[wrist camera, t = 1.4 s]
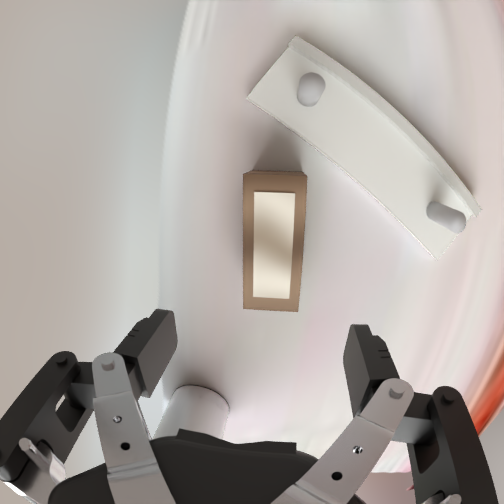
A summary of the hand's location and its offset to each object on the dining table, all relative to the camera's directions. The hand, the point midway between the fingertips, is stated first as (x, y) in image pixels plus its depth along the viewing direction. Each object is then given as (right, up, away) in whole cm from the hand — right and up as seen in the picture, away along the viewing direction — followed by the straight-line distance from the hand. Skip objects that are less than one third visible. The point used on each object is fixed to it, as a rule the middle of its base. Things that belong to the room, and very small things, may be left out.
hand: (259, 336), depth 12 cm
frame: (+2, +6, +17) cm, 18 cm away
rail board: (+12, +14, +13) cm, 22 cm away
